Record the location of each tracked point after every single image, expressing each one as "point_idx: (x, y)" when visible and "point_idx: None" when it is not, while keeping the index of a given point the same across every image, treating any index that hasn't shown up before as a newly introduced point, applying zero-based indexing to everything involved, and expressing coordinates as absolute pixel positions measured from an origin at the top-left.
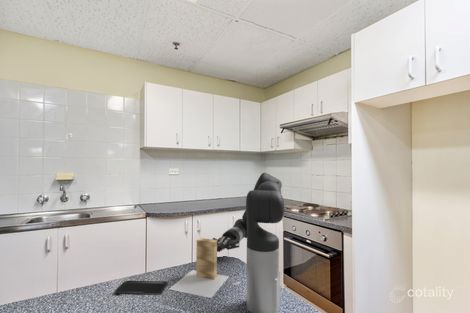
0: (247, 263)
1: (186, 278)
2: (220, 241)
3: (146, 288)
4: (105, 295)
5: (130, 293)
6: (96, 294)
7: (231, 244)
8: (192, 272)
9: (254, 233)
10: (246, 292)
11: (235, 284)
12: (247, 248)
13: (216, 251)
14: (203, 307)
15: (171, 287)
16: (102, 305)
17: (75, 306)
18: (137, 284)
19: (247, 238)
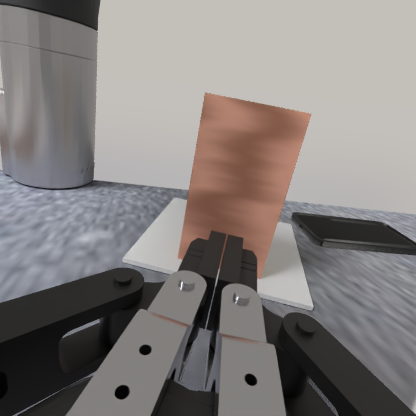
0: (96, 75)
1: (284, 255)
2: (253, 337)
3: (341, 227)
4: (392, 227)
5: (350, 218)
6: (412, 230)
7: (58, 351)
8: (294, 287)
9: None
10: (93, 149)
11: (101, 230)
12: (97, 34)
13: (196, 149)
14: (184, 190)
15: (290, 227)
16: (358, 211)
17: (392, 213)
18: (380, 239)
19: (99, 4)
